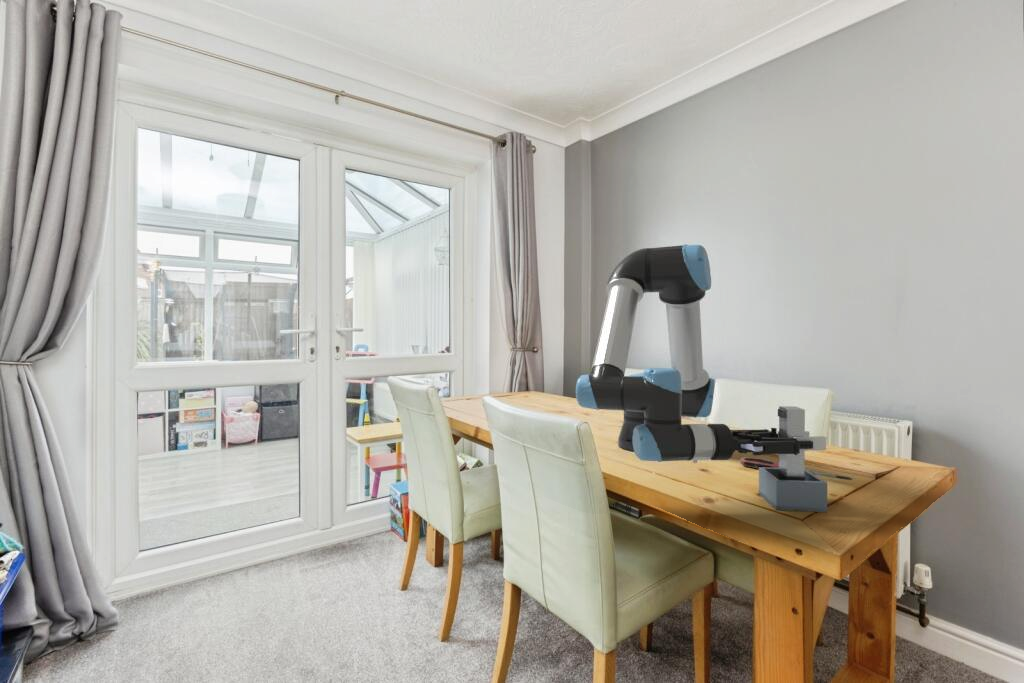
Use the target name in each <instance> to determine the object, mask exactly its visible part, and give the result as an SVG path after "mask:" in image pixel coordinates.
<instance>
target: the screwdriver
mask: <svg viewBox="0 0 1024 683" xmlns="http://www.w3.org/2000/svg"><path fill="white" fill-rule="evenodd" d="M739 462H740V464H741V465H743V467H748V468H751V467H752V469H755V468H756V469H757V470H759V467H769V468H779V462H778V461H773V460H768V459H764V458H761V457H749V456H743V457H741V458H740V459H739ZM756 469H755V470H756ZM807 470H808V469H807ZM808 471H810V472H811V473H813V474H814V475H816V476H821V477H826V478H827V477H828V478H833V479H841V480H847V481H849V480H850V481H853V478H851V477H848V476H842V475H837V474H833V473H826V472H822V471H813V470H808Z"/></svg>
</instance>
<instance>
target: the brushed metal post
mask: <svg viewBox="0 0 1024 683" xmlns="http://www.w3.org/2000/svg"><path fill="white" fill-rule="evenodd" d="M777 417H778V431H779V438H793V437H805V431H806V429H805V428H806V427H805V426H806V409H804V408H801V407H799V406H790V405H789V406H784V405H783V406H782V405H781V406H780V405H779V407H778V408H777ZM805 454H806V453H805V451H800V453H799V454H797V455H794V454H778V463H779V470H778V479H779V480H797V481H805V476H804V469H805V456H806V455H805Z"/></svg>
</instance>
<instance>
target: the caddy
mask: <svg viewBox="0 0 1024 683" xmlns="http://www.w3.org/2000/svg"><path fill="white" fill-rule="evenodd" d="M778 470H779V468H769V467H759V469H758V495H760V497H762V498H763V499H764V500H765V501H766V502H767V503H768V504H769V505H770V506H771V507H772V508H773V509H775V510H776V511H788V510H803V511H802V512H813V511H815V512H818V513H821V512H822V513H828V482H827V481H825V480H824V479H823V478H820V477H819V475H814V474H813V473H811V472H810V471H811V470H809V471H808V469H806V468H804V476H805V481H797V480H779V479H778Z"/></svg>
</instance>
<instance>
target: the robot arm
mask: <svg viewBox="0 0 1024 683" xmlns="http://www.w3.org/2000/svg"><path fill="white" fill-rule="evenodd" d="M708 256H709V255H708V252H707V250H706V248H705V247H704V246H703V245H700V244H682V245H681V244H680V245H671V246H660V247H647V248H646V247H645V248H641V249H638V250H635V251H633V252H631V253H629V254H628V255H627V256H625V257H624V258H623V259H622V260H621V261H620V262H619V263H618V264H617V265H616V266H615V268H614V269H613V270H612V272H611V274H610V275H609V278H608V280H607V284H606V288H605V294H606V296H607V300H606V305H605V310H604V314H603V318H602V323H601V326H600V331H599V335H598V339H597V342H596V348H595V352H594V357H593V360H592V364H591V369H590V374H589V373H587V374H581V375H580V376H579V377H578V378H577V381H576V383H575V384H576V385H575V398H576V401H577V405H579V406H580V407H582V408H585V409H592V410H596V411H599V410H605V411H607V410H609V411H623V422H622V426H621V429H620V431H619V435H618V437H617V438H618V440H617V442H618V443H617V445H618V447H619V448H621V449H623V450H626V451H630V452H634V454H635V456H636V457H637V458H638V459H639V460H640V461H643V462H644V461H645V462H658V463H661V462H679V461H680V462H681V461H682V462H683V461H692V463H694V464H697V462H698V461H709V460H711V461H727V460H730V459H731V458H732V456H733V454H734V453H735V452H736V451H737V453H740V454H747V453H752V455H753V456H756V457H757V456H762V455H779V454H794V455H797V454H799V453H800V451H806V452H807V451H827V437H826V436H810V431H807V430H805V437H793V438H779V430H778V431H777V429H778V428H776V427H771V428H770V430H769V429H766V428H764V429H731V428H730V427H729V426H728V425H727V424H725V423H708V424H706V423H689V424H688V423H685V424H682V417H688V418H707V417H709V416H710V415H711V414H712V411H713V410H712V407H713V401H714V394H715V393H714V392H715V386H716V385H715V379H714V378H712V377H710V375H709V372H708V371H707V370H706V369H704V365H703V364H704V363H703V362H704V360H703V358H704V357H703V343H702V342H703V341H702V325H701V324H702V323H701V322H702V321H701V320H702V319H701V306H700V304H701V303H700V302H701V301H702V300H703V299H704V298H705V296H706V292H707V291H709V290H710V289H711V287H712V275H711V265H710V261H709V257H708ZM646 293H658V298H659V301H661V303H663V304H665V310H666V320H667V321H666V322H667V331H668V332H667V334H668V343H669V344H668V345H669V355H670V365H671V367H648V368H645V369H644V371H643V373H642V372H640V373H634V374H630V375H627V376H626V375H625V372H626V367H627V364H628V358H629V350H630V346H631V341H632V335H633V330H634V324H635V321H636V320H635V319H636V314H637V309H638V303H639V302H641V301H642V299H643V297H644V294H646Z"/></svg>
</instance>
